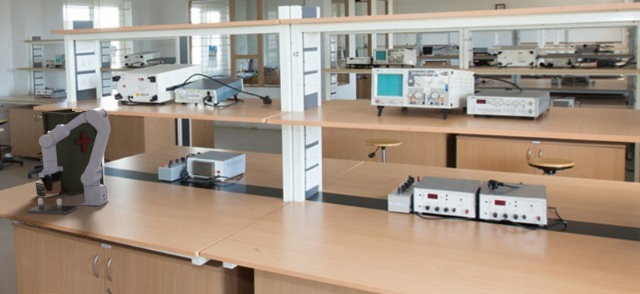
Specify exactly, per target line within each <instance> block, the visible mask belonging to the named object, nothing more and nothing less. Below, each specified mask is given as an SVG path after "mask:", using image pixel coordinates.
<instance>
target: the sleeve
mask: <svg viewBox="0 0 640 294" xmlns="http://www.w3.org/2000/svg"><path fill="white" fill-rule="evenodd" d="M58 192H61V183H60V181H52V190H51V191H46V188H45V186H44V193H45V194H56V193H58Z"/></svg>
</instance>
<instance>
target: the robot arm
mask: <svg viewBox="0 0 640 294" xmlns="http://www.w3.org/2000/svg"><path fill="white" fill-rule="evenodd" d="M87 122H89V123H90V124H91V125H93V126H94V127H95V128H96V130H97V131H98V132H97V136H96V139H95V143H94V146H93V150H92V154H91V157H90V161H89V164H88V166H87V167H86V169H85V172H84V173H83V174H82V175H81V182H82V183H83V184H84V193H83V194H84V202H82V203H80V205H81V206H96V207H97V206H98V207H99V206H102V205H104V204H106V203H108V202H109V198H108V197H109V196H108V189H107V186H106V185H105V184H104V185H102V184H100V179H101V177H102V173H101V170H102V167H101V163H102V164H103V159H104V155H105V152H106V147H107V144H108V141H109V136H110V135H111V129H112V127H111V123H110V120H109V113H108V112H107V111H106V110H105V108H103V107H101V106H99V107H95V108H91V110H88V111H87V112H84V113H82V114H80V115H79V116H78V117H76V118H75V119H73V120H72V121H70V122H69V123H68V124H66V125H62V124H61V125H57V126H56V128H55V129H53V130H52V131H48V132H47V133H48V134H46V135H44V134H42V135H41V136H39V139H38V144H39V145H40V147H41V153H42V163H43V164H42V165H43V169H42V170H41V171H42V172H41V171H40V172H41V173H40V172H39V173H38V178H39V177H40V178H39V180H40V179H41V181H42V182H43V184H44V186H45V188H46V191H51V190H52V181H60V180H61V177H62V175H63V172H60V171H63V167H58V166H57V155H56V144H57V142H59V141H60V140H62V139H63V138H65V137H67V136H68V135H69V134H70V130H72V129H74V128H75V127H77V126H79V125H80V124H82V123H87ZM49 175H51V176H49Z"/></svg>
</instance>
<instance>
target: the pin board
mask: <svg viewBox="0 0 640 294" xmlns="http://www.w3.org/2000/svg"><path fill="white" fill-rule="evenodd" d="M62 202H63V200H62V198H57V199H56V204H44V197H40V196H39V198H37V203H38V205H37V206H34V207H31V208H29V209H27V211H26V212H27V214H41V215H42V214H45V215H46V214H47V215H61V216H62V215H65V216H66V215H68V214H70V213H72V212H75V211H76V210H78V206H77V205H63V203H62Z"/></svg>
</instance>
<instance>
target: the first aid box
mask: <svg viewBox="0 0 640 294" xmlns="http://www.w3.org/2000/svg"><path fill="white" fill-rule="evenodd" d="M84 112H87V111H82V112H75V111H72V108H66V109H65V108H63V109H62V108H61V109H53V110H44V111H41V115H42V128H43V129H42V130H43V135H46V134H48V133H47V132H48V131H52V130H53V129H55V128H56V126H57V125H61V124H62V125H66V124H68V123H69V122H70V121H72V120H73V119H75V118H76V117H78V116H79V115H80V114H82V113H84ZM97 132H98V131H97V130H96V128H95V127H94V126H93V125H91V124H90V123H89V122H87V123H82V124H80V125H79V126H77V127H75V128H74V129H72V130H70V134H69V135H68V136H67V137H65V138H63V139H62V140H60V141H59V142H57V144H56V155H57V166H58V167H63V171H60V172H63V175H62V177H61V180H60V183H61V192H59V194H62V195H67V196H78V195H79V194H84V184H83V183H82V182H81V175H82V174H83V173H84V172H85V169H86V167H87V166H88V164H89V161H90V157H91V154H92V150H93V146H94V143H95V139H96V136H97ZM103 166H104V165H103V162H102V163H101V167H102V170H101V173H102V177H101V179H100V184H102V185H105V184H104V169H103V168H104V167H103Z"/></svg>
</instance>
